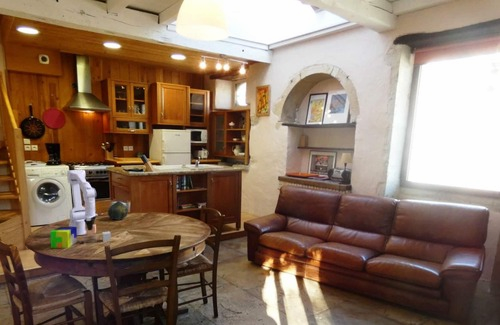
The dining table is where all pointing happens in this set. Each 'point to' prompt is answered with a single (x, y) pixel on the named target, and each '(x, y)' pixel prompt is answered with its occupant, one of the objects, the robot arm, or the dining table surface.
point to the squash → (118, 211)
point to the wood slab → (91, 239)
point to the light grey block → (106, 236)
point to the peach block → (92, 230)
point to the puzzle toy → (63, 237)
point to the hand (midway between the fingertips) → (90, 228)
